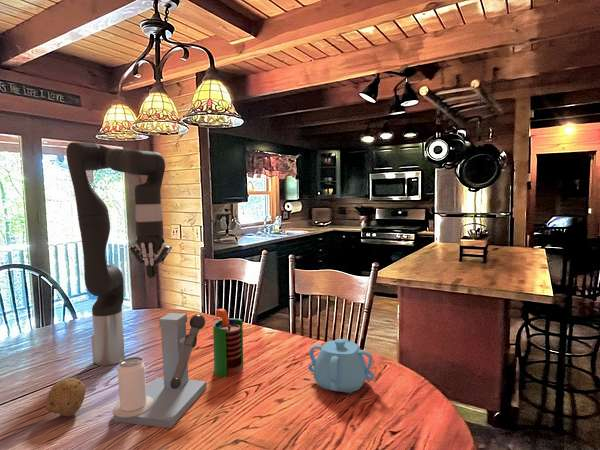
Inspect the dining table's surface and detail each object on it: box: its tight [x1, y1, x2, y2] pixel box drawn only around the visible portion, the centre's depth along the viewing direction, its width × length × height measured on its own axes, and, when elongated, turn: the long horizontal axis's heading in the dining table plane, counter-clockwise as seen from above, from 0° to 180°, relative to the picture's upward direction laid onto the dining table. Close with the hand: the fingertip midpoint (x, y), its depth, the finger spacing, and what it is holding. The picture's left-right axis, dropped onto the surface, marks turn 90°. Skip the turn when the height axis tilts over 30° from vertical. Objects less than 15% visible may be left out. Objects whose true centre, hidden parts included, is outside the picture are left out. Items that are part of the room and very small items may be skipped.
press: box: [112, 312, 207, 429], centre depth 106 cm, size 18×21×22 cm
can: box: [117, 356, 147, 412], centre depth 102 cm, size 6×6×12 cm
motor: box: [212, 308, 244, 378], centre depth 126 cm, size 10×9×20 cm
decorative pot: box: [308, 338, 375, 394], centre depth 115 cm, size 16×16×14 cm
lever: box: [170, 314, 206, 389], centre depth 108 cm, size 4×22×4 cm
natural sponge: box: [44, 377, 86, 418], centre depth 102 cm, size 9×9×10 cm
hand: (152, 277), depth 116 cm, fingers closed
